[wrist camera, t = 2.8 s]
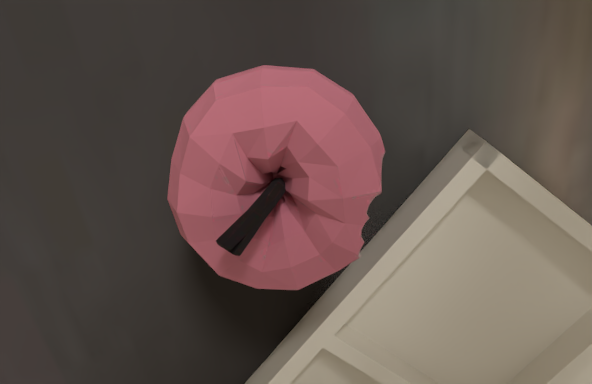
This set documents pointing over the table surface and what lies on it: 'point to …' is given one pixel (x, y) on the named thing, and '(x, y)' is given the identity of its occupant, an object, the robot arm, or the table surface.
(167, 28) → the table surface
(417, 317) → the tray
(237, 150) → the apple
